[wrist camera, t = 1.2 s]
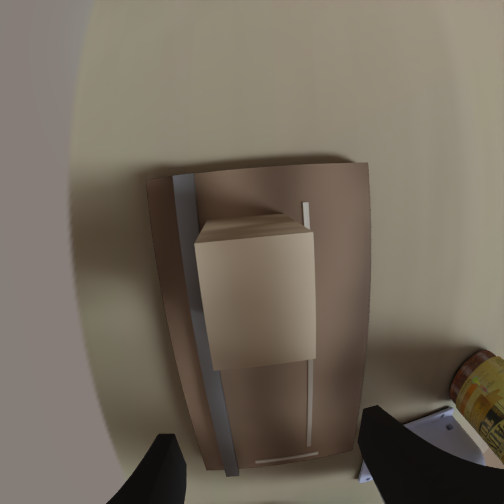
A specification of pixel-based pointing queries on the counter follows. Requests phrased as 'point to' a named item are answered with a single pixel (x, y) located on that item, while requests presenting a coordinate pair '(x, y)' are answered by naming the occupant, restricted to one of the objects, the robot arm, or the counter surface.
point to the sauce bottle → (482, 397)
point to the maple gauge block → (257, 290)
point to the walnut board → (327, 312)
